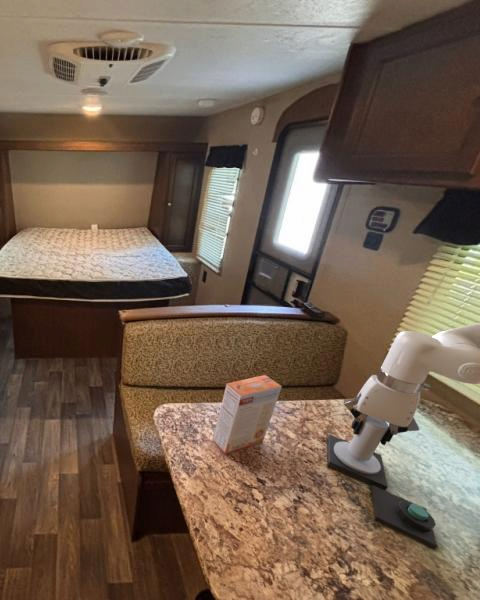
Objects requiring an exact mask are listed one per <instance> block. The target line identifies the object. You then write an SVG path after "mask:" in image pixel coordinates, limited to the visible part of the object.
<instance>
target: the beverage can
mask: <svg viewBox="0 0 480 600" xmlns="http://www.w3.org/2000/svg"><path fill="white" fill-rule="evenodd" d="M362 422H363V425H362V427H361V429H360V431H359V433H358V435H356V434H354V435H353V437H352V438H351V440H350V445H349V447H348V450H349V452H350V454H351V455H352V456H354V457H355V458H357V459H359V460H362V461H368V460H370V458H371V457H372V455H373V453H374V452H375V451H376V450H377V448H378V446H379V445H380V444H381V442H380V441H381V440H382V438H383V436H384V434H385V433H386V431H387V429H388V426H389V423H388V422H385V421H382V420H380V419H377V418H374V417H371V416H367V417H366V418H365V419H364V420H363V421H362ZM375 453H376V452H375Z"/></svg>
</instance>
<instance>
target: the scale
mask: <svg viewBox="0 0 480 600" xmlns="http://www.w3.org/2000/svg"><path fill="white" fill-rule="evenodd" d="M350 443H351V441H347V440H345V439H342V438H340V437H337V436H334V435H332V434H328V436H327V438H326V467H327V468H329V469H330V470H331V469H332V470H334V471H336V472H338V473H341V474H343V475H345V476H347V477H349V478H352V479H354V480H357V481H358V482H361V483H362V484H365V485H368V486H370V487H371V486H372V485H373V486H376V487H378V488H380V489H382V490H385V491H387V489H388V488H389V486H388V482H387V477H386V471H385V467H384V462H383V461H384V460H383V457H382V454H380V453H378V452H374V453H373V455H372V457H371V458H370V460H368V461H362V460H359V459H357V458H355V457H354V456H352V455H351V454H350V452H349V450H348V447H349V445H350Z"/></svg>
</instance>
